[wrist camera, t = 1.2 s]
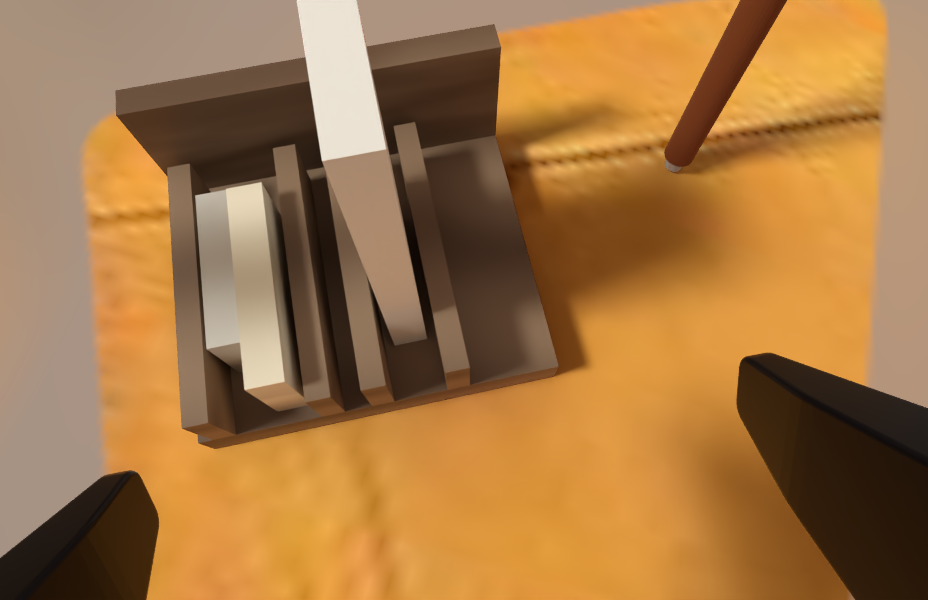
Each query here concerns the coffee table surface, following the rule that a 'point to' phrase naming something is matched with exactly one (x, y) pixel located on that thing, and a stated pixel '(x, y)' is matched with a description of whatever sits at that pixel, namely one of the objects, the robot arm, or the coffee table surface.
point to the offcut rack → (338, 244)
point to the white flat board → (360, 158)
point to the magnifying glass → (721, 78)
